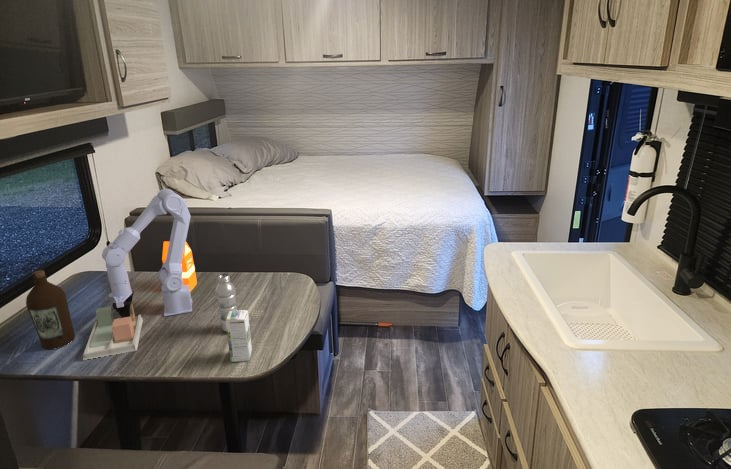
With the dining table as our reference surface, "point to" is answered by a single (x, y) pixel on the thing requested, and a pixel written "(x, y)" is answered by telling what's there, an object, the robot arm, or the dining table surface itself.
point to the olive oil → (49, 312)
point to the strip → (103, 327)
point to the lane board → (113, 344)
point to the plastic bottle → (225, 297)
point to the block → (122, 328)
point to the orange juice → (184, 265)
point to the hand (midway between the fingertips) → (127, 316)
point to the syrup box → (239, 335)
